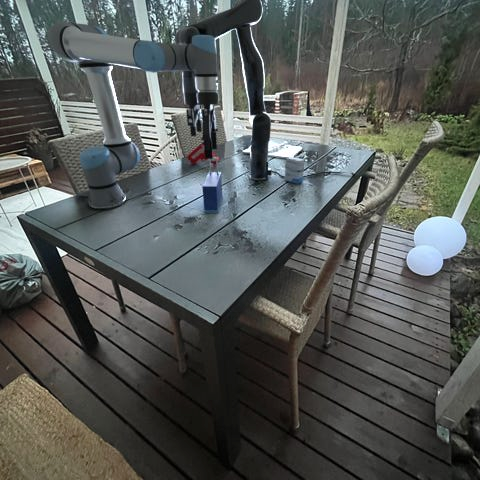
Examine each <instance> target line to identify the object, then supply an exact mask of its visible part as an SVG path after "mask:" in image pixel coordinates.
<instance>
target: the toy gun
mask: <svg viewBox="0 0 480 480" xmlns="http://www.w3.org/2000/svg"><path fill="white" fill-rule="evenodd" d="M212 153H213V157H218V165H219V164H220V161H221V158H220V157H219V156H218V155H217V154H215V153H214V151H212ZM186 158H187V160H188V161H189V162H190V164H192V165H195V163H197V162H199V161H200V160H201V162H205V161H206V160H207V159H205V150H204V141H203V142H201V144H199V145H198V146H197V147H195V149H193V150H192V151H191V152H190V153H188V155H186ZM211 165H212V166H213V167H216V161H211Z"/></svg>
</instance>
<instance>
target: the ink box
mask: <svg viewBox="0 0 480 480" xmlns="http://www.w3.org/2000/svg"><path fill="white" fill-rule="evenodd" d="M305 162H306V159H304V158H299V157H296V156H294V157H289V158H287V159H286V158H285V169H284V176H285V178H284V181H285V182H289V183H293V184H295V185H298V184H300V183H302V182H303V180H304V178H303V176H304V173H305V171H304V170H305Z"/></svg>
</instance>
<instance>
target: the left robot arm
mask: <svg viewBox="0 0 480 480" xmlns="http://www.w3.org/2000/svg"><path fill="white" fill-rule="evenodd" d="M48 42H49V45H50V47H51V48H52V50H53V52H54V53H55V54H56V55H57V56H58V57H59V58H61V59H62V60H64V61H67V62H70V63H77V64H78V65H79V68H80V70H81V71H82V72H84V73H85V74H86V77H87V81H88V84H89V87H90V92H91V94H92V98H93V101H94V104H95V107H96V111H97V115H98V118H99V121H100V126H101V128H102V131H103V135H104V140H103V141H102V145H103V146H102V145H97V146H94V147H89V148H86V149H84V150H82V151H81V152H80V153H79V155H78V158H79V162H80V164H79V165H80V168H81V169H82V172H83V174H84V178H85V180H86V184H87V187H88V195H83V194H78V197H79V198H83V199H88V205H89V207H90V208H91V209H92V210H96V211H97V210H98V211H105V210H112V209H115V208H118V207H120V206H122V205H124V204H125V203H126V201H127V195H126V193H124V191H123V190H122V188H121V187H120V185H119V184H118V180H117V176H118V175H120V174H122V173H125V172H127V171H131V170H132V169H134V168H135V167H137V166H138V164H139V163H140V160H141V154H140V150H139V148H138V147H137V146H136V144H135V143H134V142H132V140H131V138H129V137H128V136H127V135H126V130H125V127H124V123H123V119H122V115H121V110H120V107H119V103H118V100H117V96H116V91H115V87H114V83H113V79H112V75H111V71H112V70H113V68H114V67H113V65H117V66H122V67H127V68H133V69H140V70H142V71H144V72H147V73H161V72H162V73H163V72H182V71H195V82H196V90H198V92H197V103H198V104H200V105H202V106H203V108H202V137H201V141H203V142H204V150H205V159H206V160H208V159H213V153H214V152H213V150H218V142H217V133H218V132H219V128H218V127H217V120H216V110H215V105H218V104H219V102H220V100H219V92H218V90H219V83H220V82H221V81H220V79H218V56H217V55H218V52H217V43H216V39H215V38H214V37H213V36H211V35H195V36H193V37H192V43H191V44H176V43H168V42H161V41H160V42H158V41H152V40H143V39H138V38H129V37H124V36H116V35H109V34H108V33H107V32H106V31H105V30H104V29H103V28H102V27H99V26H96V25H92V24H85V23H76V22H69V21H57V22H55V23H53V24H52V25H51V27H50V28H49V31H48ZM212 152H213V153H212Z"/></svg>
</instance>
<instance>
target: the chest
mask: <svg viewBox="0 0 480 480" xmlns="http://www.w3.org/2000/svg"><path fill="white" fill-rule="evenodd" d="M202 198H203V211H204V214H219V211H220V208H221V204H222V200H223V183H222V176H221V177H220V180H219V183H218V186H217V189H203V188H202Z"/></svg>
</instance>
